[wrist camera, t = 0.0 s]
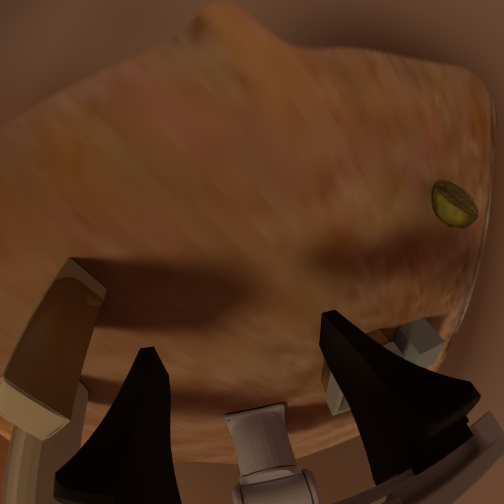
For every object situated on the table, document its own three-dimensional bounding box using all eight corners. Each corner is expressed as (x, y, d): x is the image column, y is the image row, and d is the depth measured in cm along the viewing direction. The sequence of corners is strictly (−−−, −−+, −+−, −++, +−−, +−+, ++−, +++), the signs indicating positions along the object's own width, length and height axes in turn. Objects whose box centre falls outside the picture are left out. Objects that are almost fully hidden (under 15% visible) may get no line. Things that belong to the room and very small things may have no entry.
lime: (418, 188, 21) (457, 209, 17) (448, 164, 21) (486, 180, 16) (427, 225, 23) (461, 249, 19) (455, 200, 23) (489, 219, 18)
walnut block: (367, 362, 33) (377, 378, 30) (319, 378, 32) (328, 397, 29) (378, 326, 29) (390, 343, 27) (324, 344, 28) (334, 364, 26)
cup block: (378, 379, 30) (387, 394, 28) (325, 399, 29) (332, 415, 27) (393, 341, 27) (404, 357, 24) (332, 363, 26) (341, 382, 23)
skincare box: (76, 326, 21) (43, 443, 10) (40, 297, 19) (-12, 409, 8) (111, 286, 20) (73, 424, 9) (70, 252, 18) (-1, 379, 7)
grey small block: (414, 339, 33) (433, 363, 28) (390, 350, 32) (409, 376, 28) (423, 317, 31) (444, 341, 26) (398, 327, 30) (419, 354, 26)
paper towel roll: (98, 391, 26) (89, 559, 7) (74, 402, 26) (62, 547, 8) (49, 357, 22) (16, 537, 4) (30, 372, 23) (0, 524, 4)
